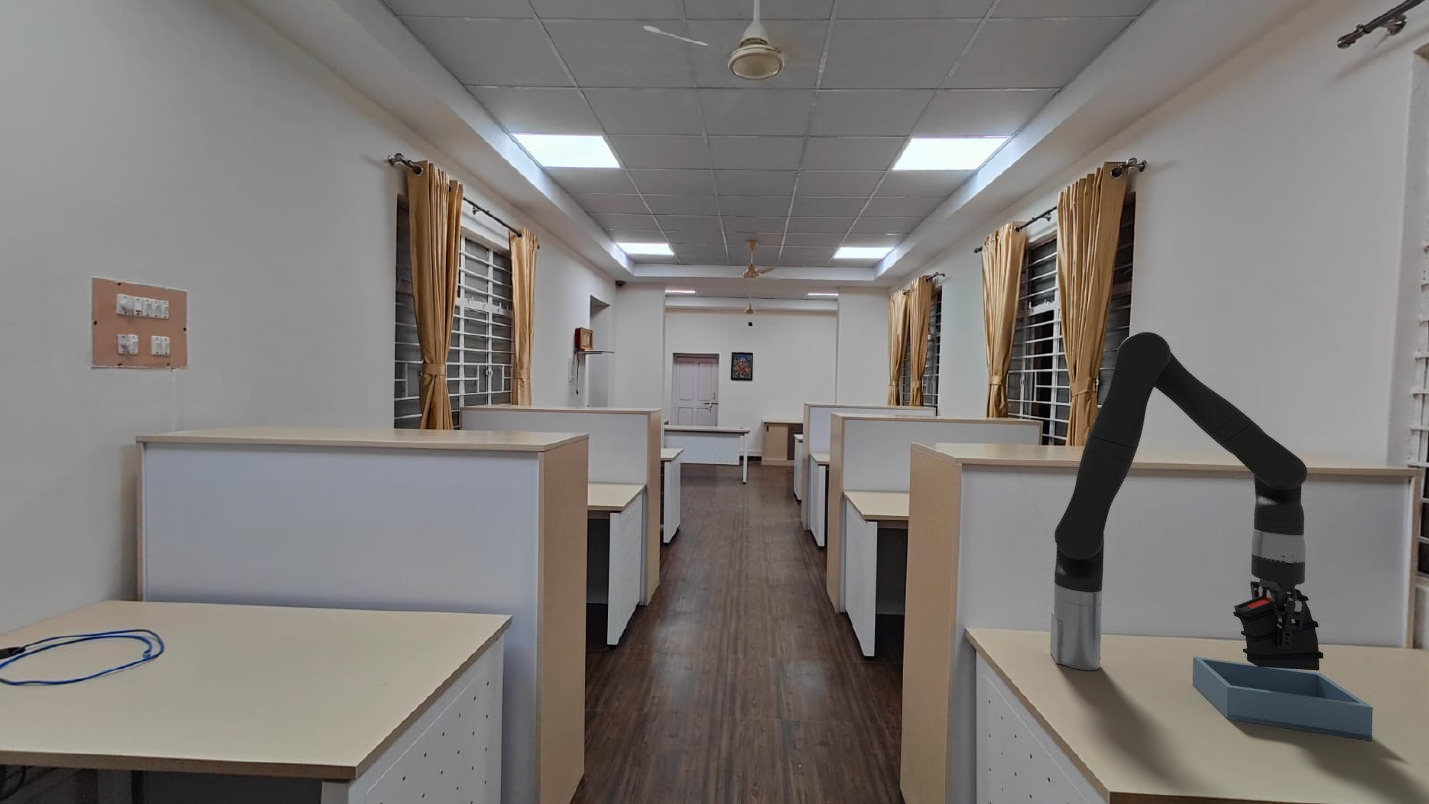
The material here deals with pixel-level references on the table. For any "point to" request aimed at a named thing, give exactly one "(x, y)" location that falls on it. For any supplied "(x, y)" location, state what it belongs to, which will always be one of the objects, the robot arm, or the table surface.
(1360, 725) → the bin
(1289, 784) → the table surface
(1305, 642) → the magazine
